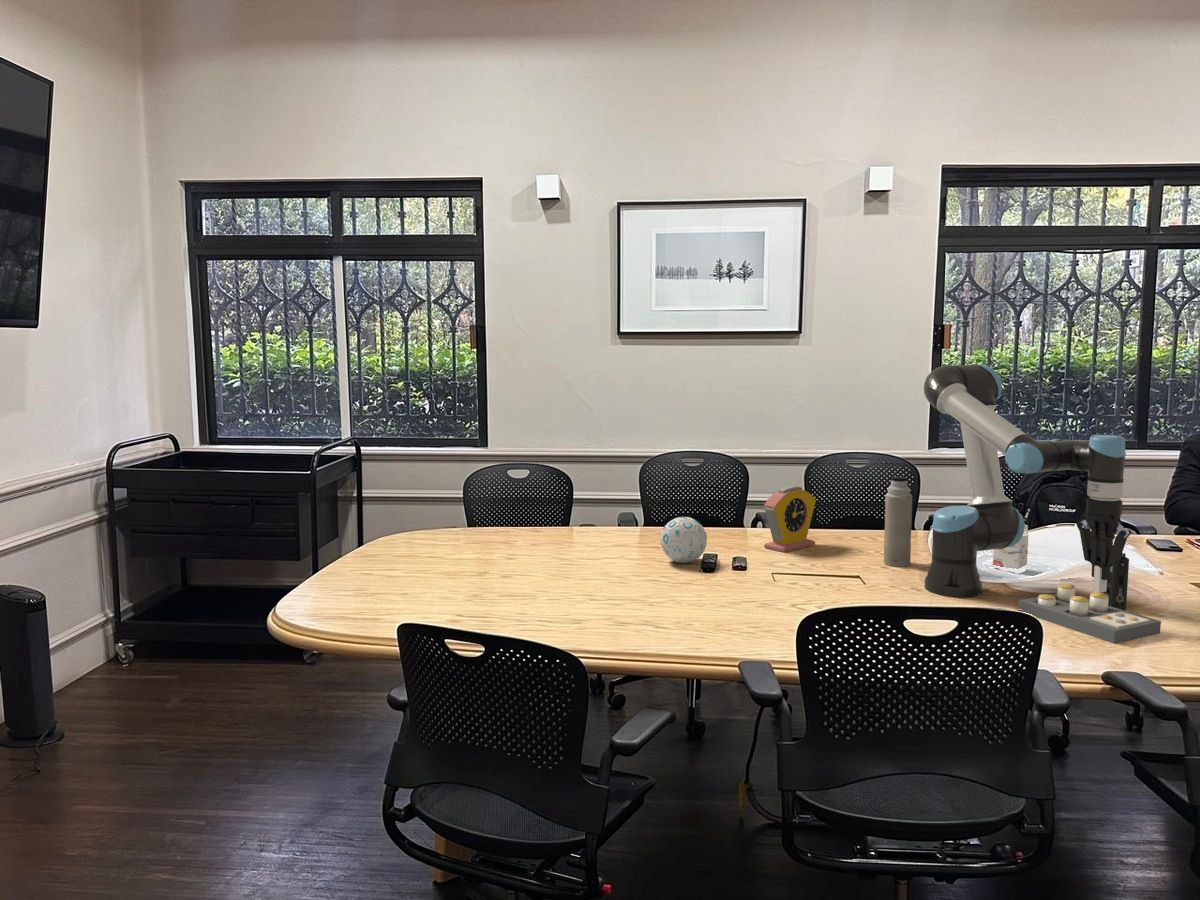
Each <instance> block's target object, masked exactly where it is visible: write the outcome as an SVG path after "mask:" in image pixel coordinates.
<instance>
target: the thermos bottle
mask: <svg viewBox="0 0 1200 900" xmlns="http://www.w3.org/2000/svg"><path fill="white" fill-rule="evenodd" d="M890 479H891V481H890V486H888V487H887V493H886V494H885V498H884V499H885V500H884V501H885V503H884V508H885V509H884V536H883V537H884V538H883V539H884V541H883V542H884V544H883V545H884V546H883V564H884V565H886V566H889V567H890V566H891V567H897V568H900V567H901V568H902V567H903V568H904V567H905V568H906V567H909V566H910V565H911V556H912V555H911V550H912V540H911V538H912V516H913V515H912V513H913V495H912V494H911V491H912V490H911V488H910V487H909V486H908V479H909V478H908V477H905V476H892V477H891V478H890Z"/></svg>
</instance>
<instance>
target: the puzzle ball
mask: <svg viewBox="0 0 1200 900" xmlns="http://www.w3.org/2000/svg"><path fill="white" fill-rule="evenodd" d="M707 540H708V538H707V532H706V531H705V529H704V527H703V525H702V524H701V523H700V522H699V521H697V520H696V519H694V518H692V517H690V516H678V517H675V518H673V519H670V521H668V522H667V523H666V524H665V525H664V526H663V528H662V532H661V533H660V543H661V548H662V551H663V552H664V554H665V555H666V556H667V557H668V558H669V559H670V560H672V561H674V562H676V563H681V564H683V563H684V564H687V563H688V564H689V563H692V562H694V561H696V560H697V559H699V558H700V557H701V556H702V555H703V554H704V552H705V550H706V547H707V543H708V542H707Z"/></svg>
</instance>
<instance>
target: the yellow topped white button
mask: <svg viewBox="0 0 1200 900" xmlns="http://www.w3.org/2000/svg"><path fill="white" fill-rule="evenodd" d="M1108 599H1109V597H1108V595H1107V594H1104V593H1098V592H1094V591H1093V592H1091V593H1090V594H1089V600H1090V602H1089V610H1092V611H1095V612H1099V613H1104V612H1108Z"/></svg>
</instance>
